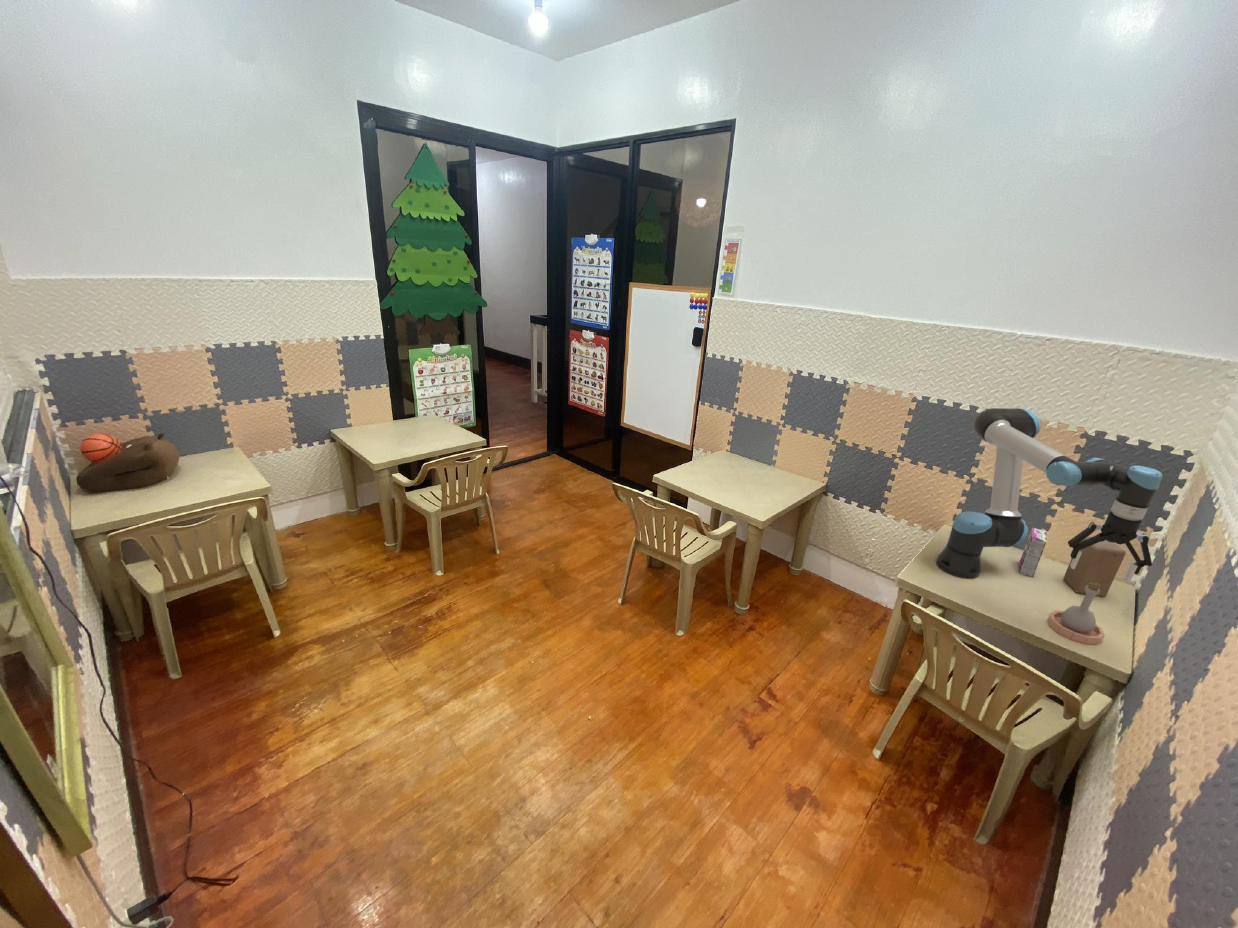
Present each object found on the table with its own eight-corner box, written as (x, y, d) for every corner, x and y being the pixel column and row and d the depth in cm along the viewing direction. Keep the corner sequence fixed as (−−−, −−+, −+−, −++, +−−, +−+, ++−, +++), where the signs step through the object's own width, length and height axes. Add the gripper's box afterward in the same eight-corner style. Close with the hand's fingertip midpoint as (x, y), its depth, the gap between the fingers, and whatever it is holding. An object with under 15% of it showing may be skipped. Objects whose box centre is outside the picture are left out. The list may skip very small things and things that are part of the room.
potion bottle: (1082, 639, 170) (1104, 593, 164) (1052, 622, 178) (1072, 578, 171) (1097, 633, 174) (1119, 587, 167) (1067, 617, 181) (1087, 573, 175)
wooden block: (1106, 597, 195) (1128, 551, 188) (1076, 593, 197) (1097, 547, 189) (1089, 583, 204) (1110, 538, 197) (1061, 579, 206) (1080, 534, 199)
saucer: (1051, 633, 174) (1054, 627, 173) (1045, 611, 185) (1047, 605, 184) (1105, 650, 167) (1108, 643, 166) (1095, 626, 178) (1098, 620, 178)
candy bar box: (1018, 561, 217) (1031, 526, 211) (1033, 566, 214) (1047, 530, 208) (1017, 573, 208) (1031, 537, 202) (1033, 577, 206) (1047, 541, 200)
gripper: (1077, 508, 163) (1052, 566, 171) (1185, 532, 151) (1153, 593, 159) (1072, 500, 169) (1049, 556, 177) (1176, 522, 157) (1146, 581, 165)
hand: (1098, 574), depth 168 cm, fingers open, 13 cm apart
